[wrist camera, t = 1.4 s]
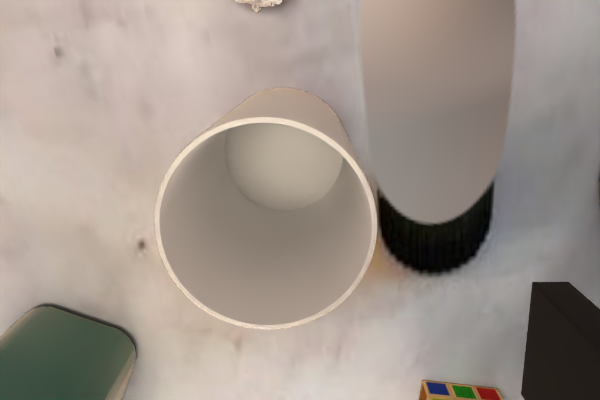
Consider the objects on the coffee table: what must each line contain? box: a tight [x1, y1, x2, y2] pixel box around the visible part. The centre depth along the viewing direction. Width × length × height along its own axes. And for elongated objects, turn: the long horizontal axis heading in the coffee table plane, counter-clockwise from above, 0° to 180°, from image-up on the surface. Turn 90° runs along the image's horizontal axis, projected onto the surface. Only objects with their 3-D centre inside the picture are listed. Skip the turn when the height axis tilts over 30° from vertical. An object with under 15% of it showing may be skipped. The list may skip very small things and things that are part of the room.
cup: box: [154, 87, 377, 330], centre depth 27 cm, size 8×8×16 cm
